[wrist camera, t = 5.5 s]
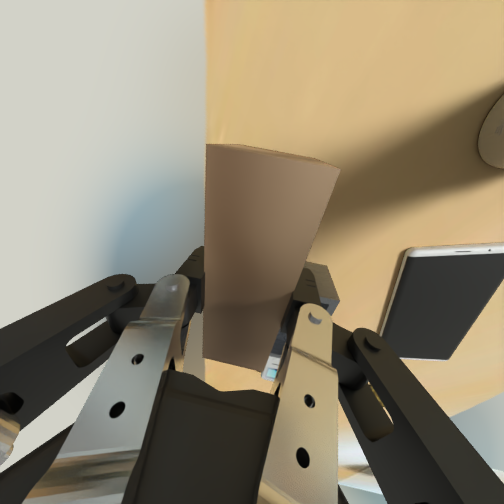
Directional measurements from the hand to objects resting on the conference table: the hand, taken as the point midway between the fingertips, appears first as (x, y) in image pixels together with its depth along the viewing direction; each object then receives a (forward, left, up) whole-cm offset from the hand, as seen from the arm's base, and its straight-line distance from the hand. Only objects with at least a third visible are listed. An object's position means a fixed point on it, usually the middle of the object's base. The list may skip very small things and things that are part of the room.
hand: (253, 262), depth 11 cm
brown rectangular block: (0, 0, -2) cm, 2 cm away
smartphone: (-32, +15, -18) cm, 39 cm away
